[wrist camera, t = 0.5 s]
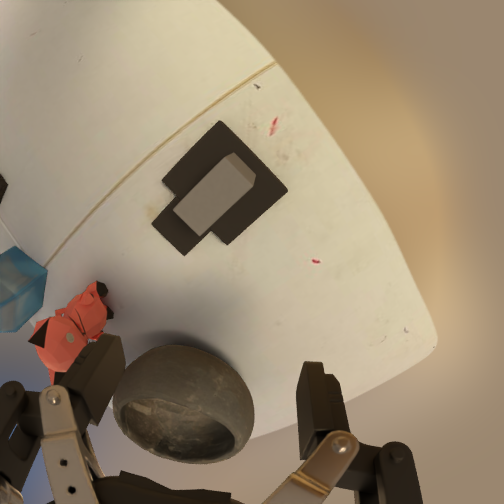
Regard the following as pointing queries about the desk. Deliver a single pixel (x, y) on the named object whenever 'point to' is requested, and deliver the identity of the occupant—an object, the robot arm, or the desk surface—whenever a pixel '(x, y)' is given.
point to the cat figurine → (71, 330)
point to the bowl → (184, 405)
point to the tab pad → (198, 172)
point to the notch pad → (2, 187)
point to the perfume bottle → (19, 289)
